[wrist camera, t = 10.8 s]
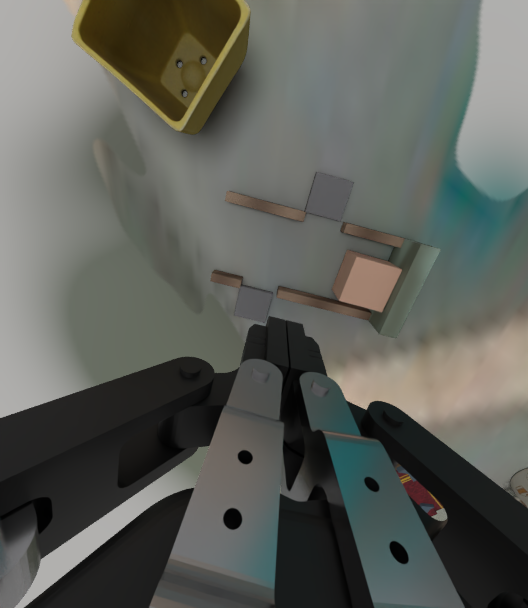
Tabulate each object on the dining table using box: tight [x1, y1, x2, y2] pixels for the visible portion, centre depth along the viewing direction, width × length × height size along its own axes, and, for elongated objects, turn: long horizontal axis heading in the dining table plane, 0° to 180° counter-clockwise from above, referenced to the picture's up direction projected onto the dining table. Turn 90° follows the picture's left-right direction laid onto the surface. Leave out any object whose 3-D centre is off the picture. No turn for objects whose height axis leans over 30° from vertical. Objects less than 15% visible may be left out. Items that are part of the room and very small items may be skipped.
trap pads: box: [234, 172, 354, 323], centre depth 31 cm, size 5×20×1 cm, turn 146°
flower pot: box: [72, 0, 250, 135], centre depth 21 cm, size 9×9×9 cm
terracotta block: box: [332, 250, 402, 312], centre depth 30 cm, size 5×5×4 cm
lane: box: [211, 191, 441, 338], centre depth 29 cm, size 22×10×5 cm, turn 76°
